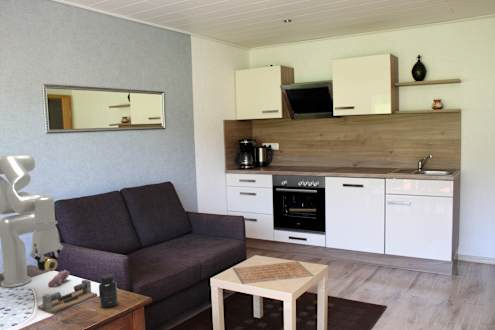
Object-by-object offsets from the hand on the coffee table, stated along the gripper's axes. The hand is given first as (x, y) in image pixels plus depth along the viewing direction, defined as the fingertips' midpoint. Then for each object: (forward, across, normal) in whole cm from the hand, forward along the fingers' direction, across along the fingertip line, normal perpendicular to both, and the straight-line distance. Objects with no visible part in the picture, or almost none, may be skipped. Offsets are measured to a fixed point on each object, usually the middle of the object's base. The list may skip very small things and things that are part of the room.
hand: (47, 267), depth 184 cm
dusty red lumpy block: (+14, -12, -11) cm, 21 cm away
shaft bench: (+13, 0, +12) cm, 17 cm away
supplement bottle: (+12, -7, +29) cm, 32 cm away
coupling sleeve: (+1, 0, 0) cm, 1 cm away
